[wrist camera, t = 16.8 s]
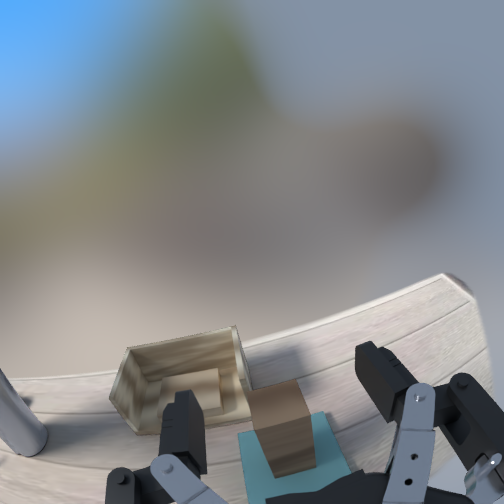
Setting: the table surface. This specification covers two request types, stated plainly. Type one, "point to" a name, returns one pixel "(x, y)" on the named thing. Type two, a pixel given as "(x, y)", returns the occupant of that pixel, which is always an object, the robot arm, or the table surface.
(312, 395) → the table surface
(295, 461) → the walnut block
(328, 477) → the mat
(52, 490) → the table surface
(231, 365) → the crate
